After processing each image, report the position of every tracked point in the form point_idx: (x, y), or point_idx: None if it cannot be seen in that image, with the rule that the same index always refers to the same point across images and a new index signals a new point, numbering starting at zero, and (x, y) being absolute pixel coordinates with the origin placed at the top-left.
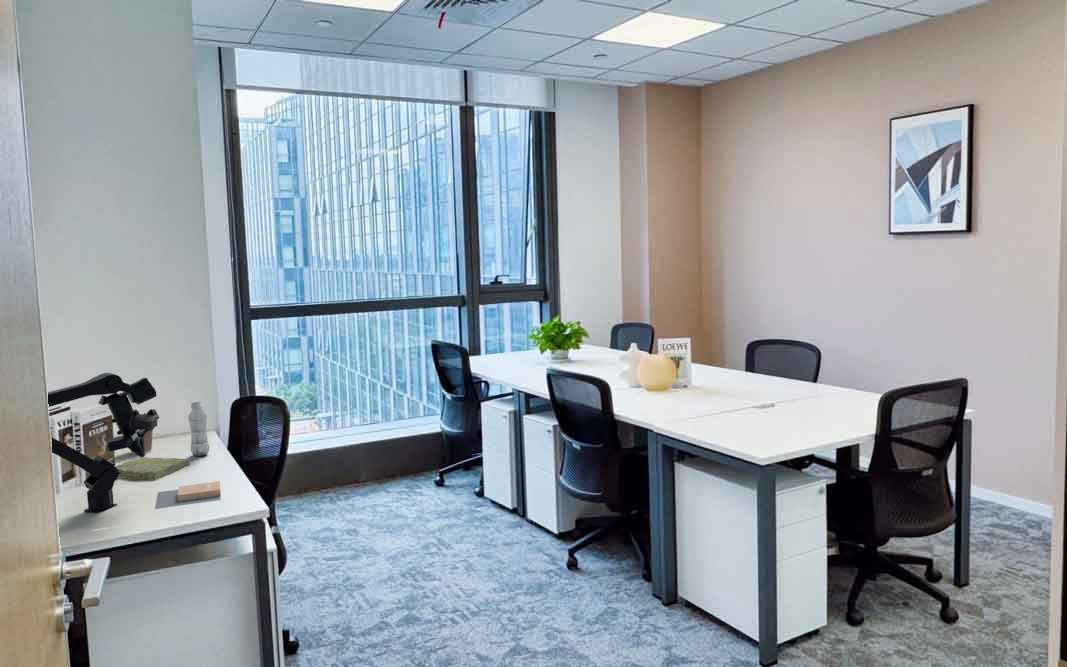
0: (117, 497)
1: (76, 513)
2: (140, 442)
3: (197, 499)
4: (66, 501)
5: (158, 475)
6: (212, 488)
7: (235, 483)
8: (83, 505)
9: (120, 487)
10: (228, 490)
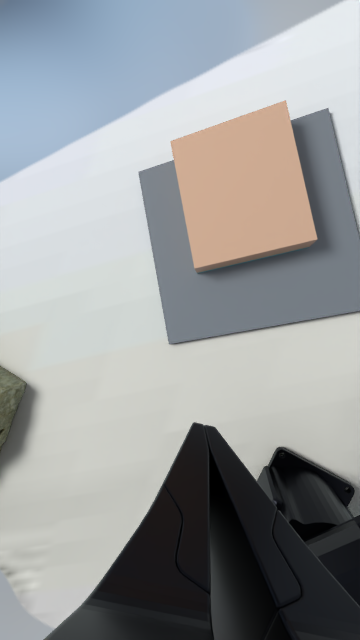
0: None
1: None
2: (203, 577)
3: None
4: None
5: (8, 380)
6: (261, 134)
7: (136, 130)
8: None
9: (69, 473)
10: (206, 126)
